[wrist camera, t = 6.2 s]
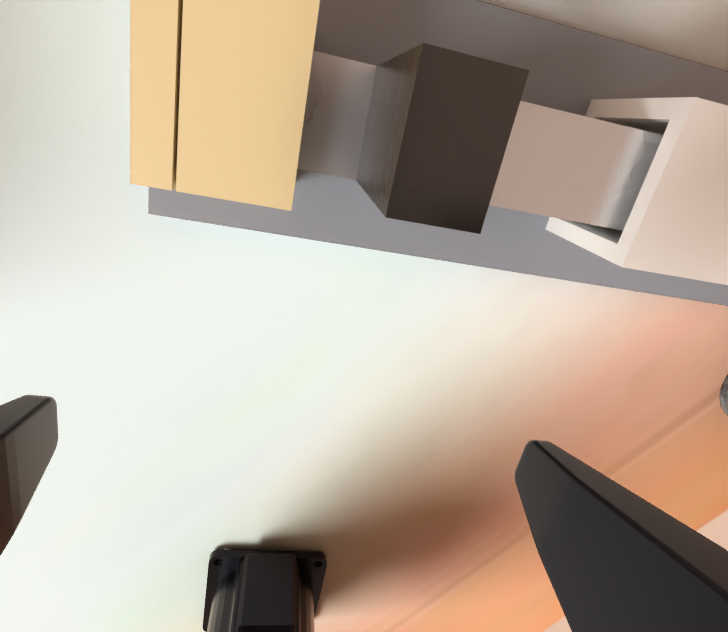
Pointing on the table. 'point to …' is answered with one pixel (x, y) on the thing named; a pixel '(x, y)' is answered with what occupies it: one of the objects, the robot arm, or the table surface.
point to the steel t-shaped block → (465, 142)
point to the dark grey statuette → (724, 396)
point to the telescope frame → (345, 196)
